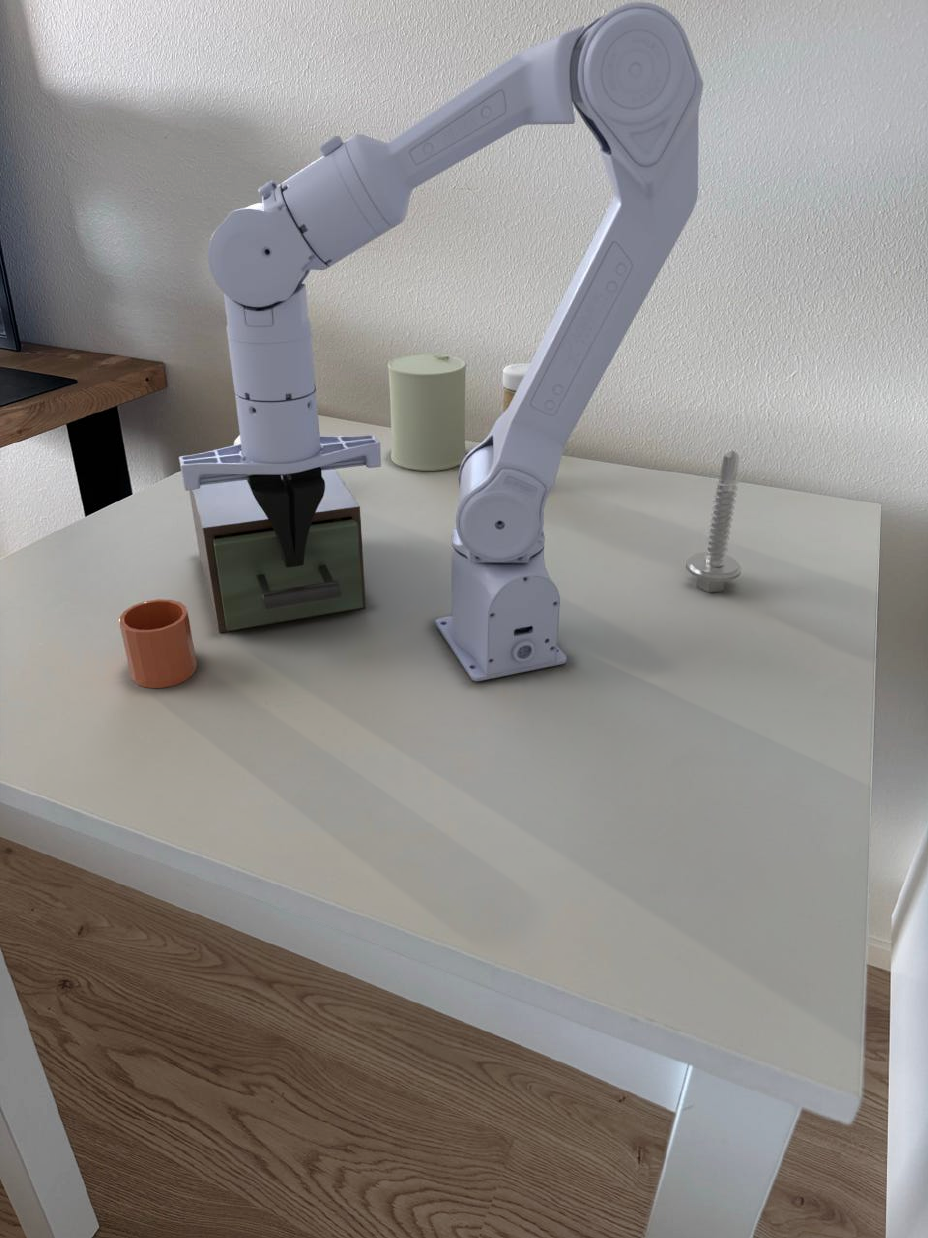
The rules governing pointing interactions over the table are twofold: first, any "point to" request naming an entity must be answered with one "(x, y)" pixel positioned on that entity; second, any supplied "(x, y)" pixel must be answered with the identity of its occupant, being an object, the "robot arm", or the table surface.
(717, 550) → the screw
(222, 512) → the cabinet
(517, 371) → the sprinkles bottle
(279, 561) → the drawer
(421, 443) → the can
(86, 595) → the table surface
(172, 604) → the cup
